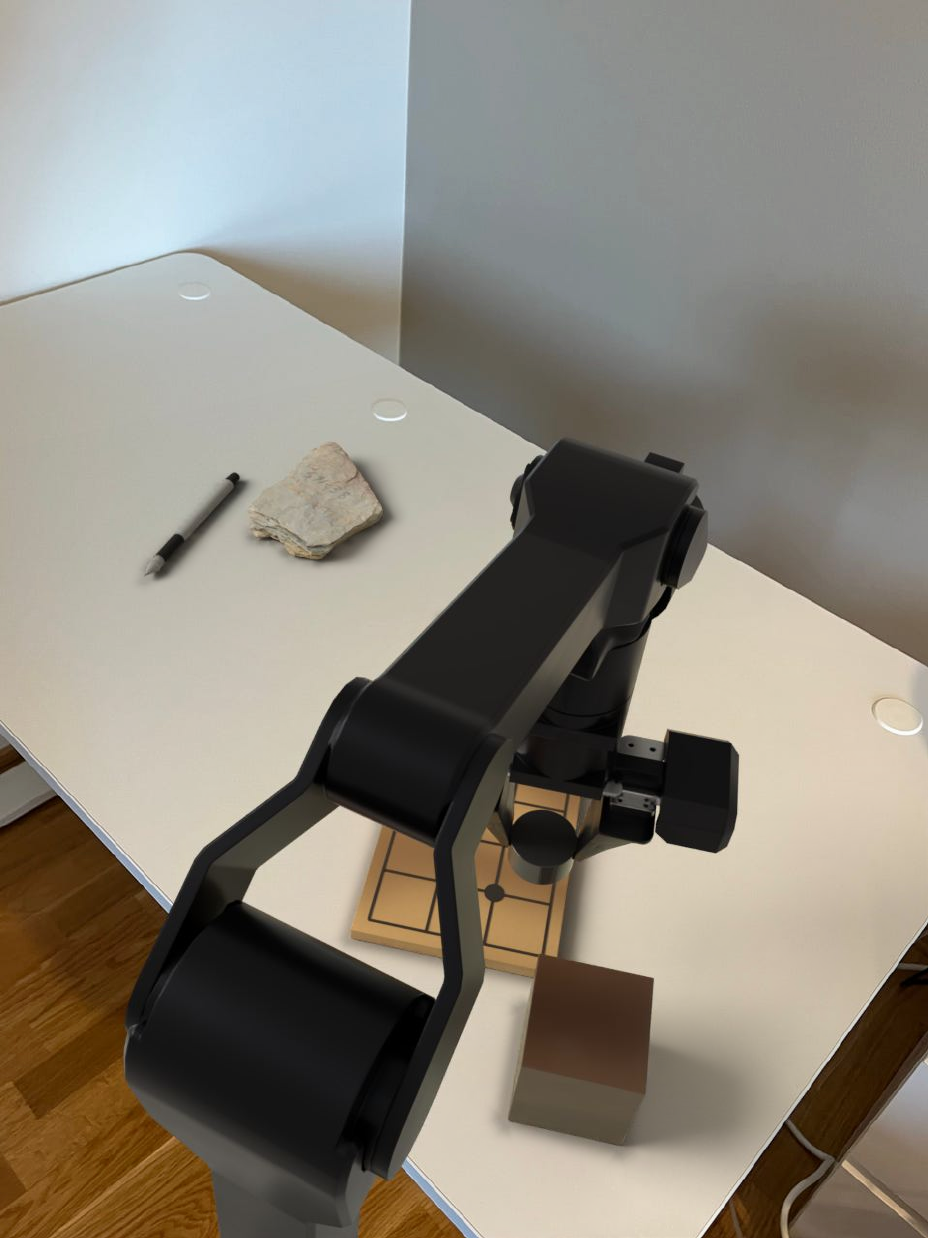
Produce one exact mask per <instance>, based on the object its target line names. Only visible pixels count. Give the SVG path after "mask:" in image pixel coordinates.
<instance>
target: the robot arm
mask: <svg viewBox="0 0 928 1238" xmlns="http://www.w3.org/2000/svg"><path fill="white" fill-rule="evenodd" d="M685 466H686V464H685V462H683V461H680V460H678V459H673V458H670V457H667V456H665V455H661V454H658V453H655V452H652V451H649V452H648V454H647V456H646V457H645V458H644V460H643V461H642V460H640V459H636V458H633V457H631V456H627V455H624V454H621V453H618V452H615V451H612V450H609V449H607V448H603V447H600V446H598V445H594V444H591V443H588V442H585V441H582V440H578V439H577V438H573V437H570V436H567V435H566V436H564V437H562V438H560V439H559V440H557V441H555V442H554V443H553V444H552V446H551V447H550V448H549V449H548V450H547V451H546V453H545V454H544V455H542V454H538V455H536V456H535V457H534V458H533V460H531V462H528V463H527V464H526V465H525V467H524V470H523V473H521V474H519V475H518V476H516V478H515V480H514V481H513V484H512V487H511V490H510V494H509V501H510V504H511V506H512V512H511V514H510V518H509V522H510V524H511V528H512V529H511V530H512V531H513V534H512V538H511V540H509V541H508V542H507V544H506V545H505V546H504V547H503V548H502V549H501V550H500V551H499V552H498V553H497V554H496V555H495V556H493V558H492V559H491V560H490V561H489V562H488V563H487V564H486V565H485V566H484V568H482V569H481V570H480V572H478V573H477V574H476V576H474V577H473V579H472V580H471V581H469V583H468V584H467V585H466V586H465V587H464V588H463V589H462V590H461V591H460V592H459V593H458V594H457V595H456V596H455V597H454V599H453V600H452V601H450V602H449V604H447V606H446V607H444V609H443V610H441V612H440V613H439V614H438V615H437V616H436V617H435V618H434V619H433V620H432V621H431V622H430V623H429V624H428V625H427V626H426V627H425V628H424V629H423V630H422V632H421V633H420V634H419V635H418V636H417V637H416V638H415V639H414V640H413V641H412V642H411V643H410V644H409V645H408V646H407V647H406V648H405V649H404V650H403V651H402V652H401V653H400V654H399V656H397V657H396V658H395V659H394V661H392V663H390V665H389V666H388V667H387V668H385V670H384V671H383V672H382V673H381V674H380V675H379V676H378V677H376V678H375V679H373V680H372V679H370V678H367V677H366V676H365V677H363V676H355V677H354V678H353V679H351V680H350V681H349V682H347V683H346V684H344V685H343V687H342V688H341V689H340V691H339V692H338V693H337V694H336V696H335V697H334V698H333V700H332V702H331V703H330V705H329V707H328V709H327V710H326V712H325V714H324V716H323V718H322V719H321V722H320V724H319V726H318V728H317V729H316V733H315V734H314V736H313V739H312V740H311V743H310V745H309V748H308V749H307V752H306V753H305V756H304V758H303V760H302V762H301V765H300V767H299V769H298V771H297V774H296V775H295V776H294V777H293V779H292V780H290V781H289V782H288V783H286V784H285V785H284V786H283V787H281V788H280V789H279V790H277V791H276V792H275V793H273V794H272V795H271V796H269V797H268V798H267V799H265V800H263V802H262V803H260V804H259V805H257V806H256V807H255V808H253V809H252V810H251V811H249V812H248V813H247V814H245V815H244V816H243V817H242V818H240V819H239V820H238V821H236V822H235V823H234V824H232V825H231V826H230V827H228V828H226V830H224V831H223V832H222V833H221V834H219V835H218V836H217V837H215V838H213V840H212V841H210V842H209V843H208V844H206V845H205V846H203V847H202V849H201V850H200V851H199V852H198V854H197V855H196V857H195V858H194V859H193V860H192V863H191V866H190V867H189V870H188V871H187V873H186V875H185V878H184V881H183V882H182V884H181V886H180V888H179V890H178V893H177V895H176V897H175V899H174V901H173V903H172V905H171V907H170V910H169V912H168V914H167V916H166V918H165V919H164V922H163V924H162V926H161V928H160V930H159V932H158V935H157V937H156V939H155V942H154V943H153V946H152V948H151V949H150V952H149V954H148V956H147V958H146V960H145V962H144V964H143V966H142V969H141V971H140V973H139V975H138V977H137V979H136V981H135V984H134V986H133V989H132V991H131V994H130V997H129V999H128V1001H127V1004H126V1008H125V1009H126V1010H125V1018H124V1024H123V1025H124V1027H125V1031H126V1036H125V1042H124V1046H123V1073H124V1079H125V1080H124V1081H125V1082H126V1084H127V1087H128V1088H129V1090H130V1091H131V1092H132V1093H133V1095H134V1097H135V1098H136V1099H137V1101H138V1102H139V1103H140V1104H141V1106H142V1108H143V1109H144V1111H145V1112H146V1113H147V1115H148V1116H149V1117H150V1118H151V1119H153V1121H155V1122H156V1123H157V1124H159V1126H161V1127H162V1128H163V1129H164V1130H165V1131H167V1132H168V1133H169V1134H171V1135H172V1136H173V1137H174V1138H175V1139H176V1140H177V1141H179V1142H180V1143H181V1144H182V1145H183V1146H185V1147H186V1148H187V1149H188V1150H190V1151H191V1152H192V1153H193V1154H194V1155H195V1156H197V1157H198V1158H199V1159H200V1160H202V1161H203V1162H204V1163H205V1164H206V1165H207V1167H208V1168H209V1169H210V1176H211V1181H212V1182H211V1183H212V1189H213V1196H214V1203H215V1210H216V1211H215V1212H216V1217H217V1225H218V1232H219V1238H359V1228H360V1227H359V1226H360V1216H361V1208H362V1206H363V1204H364V1202H365V1201H366V1199H367V1196H368V1194H369V1193H370V1191H371V1189H372V1187H373V1185H374V1184H375V1182H376V1179H377V1177H379V1178H381V1179H383V1180H384V1181H386V1182H389V1181H390V1182H391V1181H393V1179H394V1178H395V1176H396V1175H397V1174H398V1172H399V1171H400V1170H401V1169H402V1166H403V1164H404V1163H405V1162H406V1160H407V1158H408V1156H409V1154H410V1153H411V1151H412V1149H413V1148H414V1145H415V1143H416V1141H417V1139H418V1137H419V1135H420V1133H421V1132H422V1130H423V1127H424V1125H425V1123H426V1120H427V1118H428V1116H429V1114H430V1112H431V1109H432V1107H433V1105H434V1102H435V1099H436V1097H437V1095H438V1093H439V1091H440V1087H441V1085H442V1083H443V1080H444V1078H445V1076H446V1073H447V1071H448V1068H449V1066H450V1063H451V1061H452V1059H453V1056H454V1054H455V1051H456V1050H457V1047H458V1045H459V1042H460V1039H461V1038H462V1035H463V1032H464V1030H465V1028H466V1025H467V1023H468V1020H469V1018H470V1016H471V1013H472V1011H473V1009H474V1006H475V1004H476V1001H477V998H478V997H479V994H480V991H481V989H482V986H483V985H484V981H485V974H486V969H487V967H485V957H484V947H483V938H482V928H481V918H480V908H479V898H478V888H477V878H476V868H475V853H476V850H477V848H478V846H479V843H480V841H481V839H482V836H483V834H484V832H485V829H486V828H487V829H488V830H489V831H490V832H491V833H492V834H493V835H494V837H495V838H496V839H497V840H498V841H499V842H500V844H501V845H503V846H507V847H508V846H509V841H510V835H511V831H512V826H513V821H514V783H516V784H521V785H526V786H531V787H536V788H541V789H545V790H550V791H555V792H560V793H565V794H570V795H575V796H580V797H581V798H585V799H590V800H591V801H590V804H589V806H588V808H587V811H586V813H585V815H584V818H583V820H582V823H581V825H580V827H579V830H578V833H577V837H578V839H577V846H576V852H575V856H574V862H578V863H580V862H583V861H585V860H587V859H590V858H592V857H594V856H596V855H598V854H601V853H603V852H606V851H609V850H613V849H616V848H620V847H622V846H623V847H624V846H627V845H630V844H636V845H642V846H644V845H648V844H649V843H651V842H652V840H653V838H654V835H655V834H656V835H657V836H658V837H660V838H661V840H663V842H665V844H668V845H672V846H677V847H682V848H686V849H692V850H697V851H700V852H706V853H710V854H718V853H720V852H721V851H723V850H725V849H726V848H727V847H728V846H729V843H730V842H731V839H732V836H733V834H734V832H735V830H736V829H735V827H736V823H737V818H738V811H739V809H738V804H739V772H740V754H739V752H738V750H737V749H736V747H735V746H734V745H733V743H732V742H730V741H729V740H727V739H721V738H716V737H711V736H706V735H702V734H695V733H691V732H687V731H686V732H685V731H681V730H676V729H670V728H667V729H666V732H665V735H664V738H663V741H662V740H656V739H652V738H647V737H643V736H636V735H631V734H627V735H623V733H624V730H625V726H626V722H627V718H628V714H629V711H630V707H631V702H632V698H633V695H634V691H635V687H636V683H637V679H638V676H639V672H640V669H641V664H642V661H643V657H644V653H645V649H646V646H647V641H648V637H649V634H650V630H651V627H652V622H653V620H654V619H656V618H658V617H659V616H660V615H661V614H663V612H664V611H666V609H667V607H668V605H669V604H670V602H671V600H672V598H673V596H674V595H675V592H676V590H677V591H678V590H680V589H681V588H683V587H685V586H686V585H688V584H689V583H690V582H692V581H693V579H694V576H695V575H696V573H697V571H698V569H699V567H700V565H701V563H702V561H703V559H704V557H705V555H706V551H707V549H708V543H709V541H708V539H709V536H708V534H709V533H708V532H709V531H708V530H709V511H708V510H706V509H705V508H704V504H703V502H702V501H701V500H702V499H700V497H699V496H698V490H699V488H700V484H699V482H698V480H697V478H695V477H692V476H688V475H685V474H683V473H684V470H685ZM657 806H658V807H659V810H658V814H657V808H658V807H657ZM339 807H341V808H343V809H346V810H348V811H350V812H351V813H354V814H357V815H359V816H361V817H364V818H366V819H368V820H370V821H372V822H374V823H376V824H378V825H380V826H382V825H383V826H385V827H387V828H389V829H391V830H393V831H396V832H398V833H400V834H402V835H404V836H407V837H409V838H411V839H413V840H415V841H417V842H420V843H422V844H424V845H426V846H428V847H430V848H433V849H434V852H433V858H434V869H435V880H436V891H437V902H438V913H439V924H440V935H441V946H442V958H441V959H442V968H443V981H442V984H441V986H440V989H439V992H438V994H437V996H436V997H434V996H432V995H430V994H428V993H426V992H424V991H422V990H420V989H418V988H416V987H414V986H412V985H410V984H409V983H406V982H404V981H402V980H400V979H398V978H396V977H395V976H392V975H391V974H388V973H386V972H385V971H383V970H380V969H378V968H377V967H374V966H372V965H370V964H368V963H366V962H364V961H362V960H361V959H358V958H357V957H354V956H352V955H350V954H348V953H346V952H345V951H342V950H340V949H338V948H336V947H335V946H333V945H330V944H329V943H326V942H324V941H322V940H321V939H319V938H317V937H315V936H313V935H310V934H308V933H306V932H305V931H303V930H301V929H298V928H297V927H295V926H293V925H291V924H289V923H287V922H284V921H283V920H280V919H279V918H277V917H275V916H273V915H271V914H269V913H266V912H265V911H263V910H260V909H259V908H258V907H254V906H253V905H252V904H249V903H248V902H244V901H243V900H244V898H245V897H246V894H247V892H248V890H249V888H250V885H251V883H252V881H253V879H254V877H255V875H256V872H257V870H259V868H260V867H262V866H263V865H265V864H266V863H267V862H268V861H269V860H271V859H272V858H274V857H275V856H276V855H277V854H278V853H280V852H281V851H282V850H284V849H285V848H287V847H288V846H289V845H290V844H291V843H293V842H294V841H296V840H297V839H298V838H299V837H301V836H302V835H304V834H305V833H306V832H308V831H309V830H311V828H313V827H314V826H315V825H317V824H318V823H320V822H321V821H322V820H323V819H325V818H326V817H327V816H329V815H330V814H331V813H333V812H334V811H335V810H336V809H338V808H339ZM656 817H657V818H656Z"/></svg>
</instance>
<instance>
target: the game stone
mask: <svg viewBox="0 0 928 1238" xmlns="http://www.w3.org/2000/svg"><path fill="white" fill-rule="evenodd" d="M577 839H578V833H577V830H576V831H575V829H574V827H573V825H572V824H571V823H570V822H569V821H568V820H567V819H566V818H565V817H564V816H562V815H560V814H558V813H556V812H553V811H550V810H541V809H540V810H532V811H529V812H527V813H524V814H523V815H521V816H520V817H519V818H518V819H517V820H516V821H515V822H514V824H513V826H512V831H511V835H510V841H509V846H508V852H507V856H508V861H509V864H510V866H511V868H512V869H513V871H514V872H515V873H516V874H517V875H518V876H519V877H520V878H522V879H523V880H525V881H527V882H530V883H533V884H537V885H550V884H554V883H557V882H559V881H561V880H562V879H564V878H565V877H566V876H567V875H568V874H569V872H570V873H571V871H572V868H573V865H574V862H575V861H574V856H575V852H576V846H577ZM569 875H570V874H569Z"/></svg>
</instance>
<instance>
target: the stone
mask: <svg viewBox="0 0 928 1238" xmlns="http://www.w3.org/2000/svg"><path fill="white" fill-rule="evenodd" d="M246 513H247V515H248V517H249V519H251V520H250V526H249V528H250V530H253V536H254V537H255V538H256V539H262V538H268V537H271V538H272V539H274V540H277V541H279V542H280V544H282V545H284V547H285V550H286V552H288V553H289V554H290V555H291V556H292V557H293V556H294V557H302V558H305V559H306V558H307V559H312V560H321V559H323V558H324V557H325V556H326V555H327V554H328V553H330V552H331V550H333V549H334V547H337V546H339V545H340V544H342V543H343V542H345V541H346V540H348V539H349V538H350V537H352V536H353V535H355V534H357V533H359V532H362V531H363V530H365V529H367V528H369V527H371V526H373V525H374V524H376V523H378V522H380V521H381V517H383V513H384V512H383V507H382V505H381V503H380V502H379V499H378V498H377V496H376V495H375V492H374V491H373V490H372V489H371V487H370V484H369V483H368V482H367V481H366V479H365V478H364V477H363V475H362V473H361V472H360V470H359V469H358V468H357V465H355V463H354V462H353V460H352V459H351V458H350V456H349V454H348V453H347V452H346V451H345V449H343V448H342V446H341V445H340V444H339V443H338V442H336V441H327V442H325V443H323V444H321V445H320V446H318V447H314V448H312V449H311V450H309V451H308V452H307V454H306V455H305V456H304V458H303V459H302V461H300V462H298V463H297V464H296V465H295V466H294V467H293V469H292V470H291V471H290V472H289V473H288V474H287V475H286V476H285V477H284V478H283V479H281V480H280V481H278V482H276V483H274V484H273V485H271V486H269V487H266V488H265V489H263V490H262V491H261V492H260V494H259V496H258V497H257V499H256V500H254V501H253V502H252V503H251V504H250V506H249V507H248V508H247V510H246Z"/></svg>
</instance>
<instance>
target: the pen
mask: <svg viewBox="0 0 928 1238" xmlns="http://www.w3.org/2000/svg"><path fill="white" fill-rule="evenodd" d="M240 478H241V476H240V474H239V473H237V472H234V471H233V472H231V473H230V474H229V475H228V476H227V477H226V478H225V479H222V481H221V483H220V484H219V485H217V487H216V488H215V489H214V490H213V491H212V492H211V493H210V494H209V496H207V498H206V499H205V500H204V501H203V502H202V503H201V504H200V506H199V507H197V509H196V510H195V511H194V512H193V513H192V515H190V517H189V518H188V519H187V520H186V521H185V522H184V523H183V524H182V526H181V527H179V528H178V530H177V531H176V532H175V533H174V534H173V535H172V536H171V537H170V538H169V539H168V540H167V541H166V542H165V544H164V545H163V546H162V547H160V549H159V550H158V551H157V552H156V553H155V554H154V555H153V556H152V558H151V559H149V560H147V566H146V569H145V572H144V576H149V575H151V574H154V573H156V572H157V573H159V572H160V571H161V568H162V567H164V565H165V564H167V562H168V561H169V560H170V558H171V557H173V556H174V554H175V553H176V552H177V551H178V549H179V548H181V547H182V545H183V544H184V543H185V541H187V539H188V538H189V537H190V536H191V535H192V534H193V533H194V532H195V531H196V530H197V529H198V527H199V526H200V525H201V524H202V523H203V522H204V521H205V520H206V519H207V518H208V517H209V516H210V514H211V513H212V512H213V511H214V510H215V509H216V508H217V507H218V505H219V504H220V503H221V502H222V501H223V500H224V499H225V498H226V497H227V496H228V495H229V494H230V493H231V491H233V490H234V488H235V487H236V485H238V482H239V480H240Z"/></svg>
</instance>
